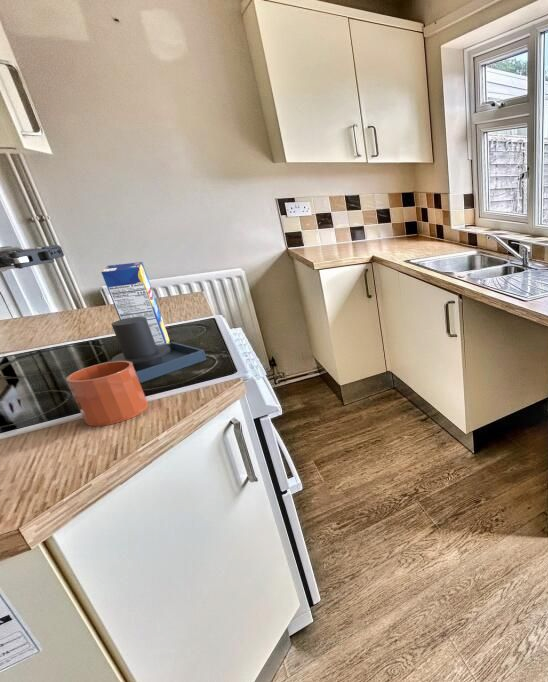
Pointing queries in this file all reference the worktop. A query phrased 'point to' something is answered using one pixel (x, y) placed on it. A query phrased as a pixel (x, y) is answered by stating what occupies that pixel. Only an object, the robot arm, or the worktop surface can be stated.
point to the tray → (172, 361)
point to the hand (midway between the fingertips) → (36, 251)
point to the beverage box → (135, 297)
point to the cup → (108, 392)
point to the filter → (138, 343)
